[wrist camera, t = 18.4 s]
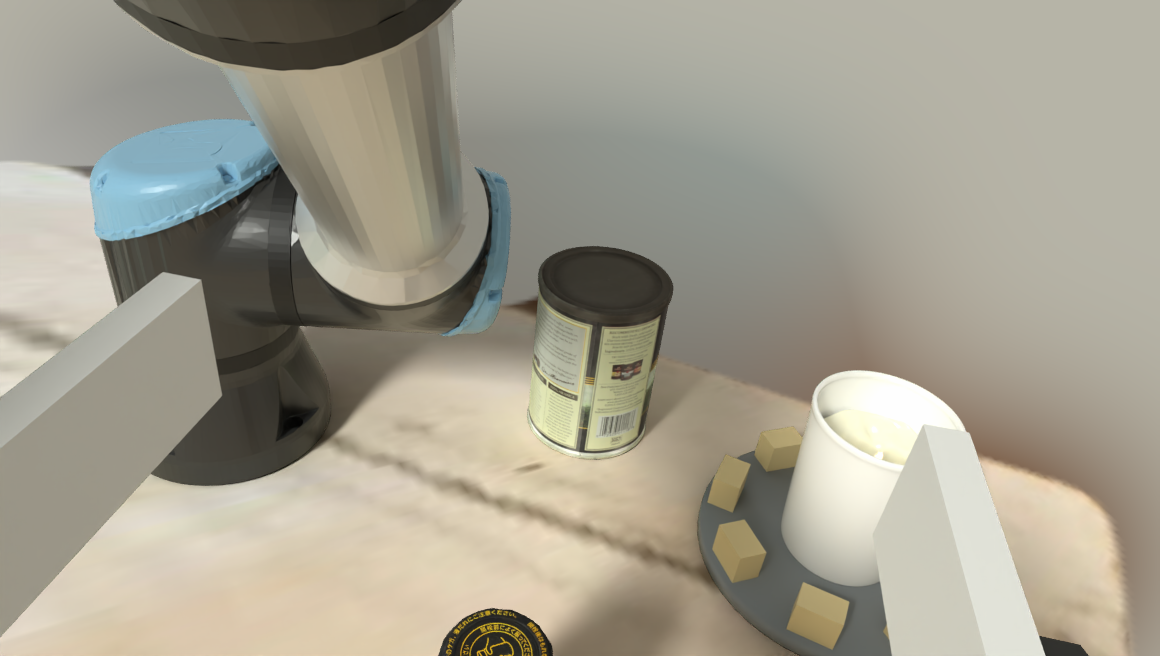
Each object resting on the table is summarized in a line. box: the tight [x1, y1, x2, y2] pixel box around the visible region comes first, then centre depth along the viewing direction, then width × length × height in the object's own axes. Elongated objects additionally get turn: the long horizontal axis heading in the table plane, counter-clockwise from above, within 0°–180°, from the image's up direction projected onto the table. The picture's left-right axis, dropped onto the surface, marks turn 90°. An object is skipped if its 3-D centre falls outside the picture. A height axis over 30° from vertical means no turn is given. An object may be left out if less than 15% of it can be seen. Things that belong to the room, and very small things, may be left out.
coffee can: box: [527, 246, 673, 460], centre depth 65 cm, size 10×10×14 cm
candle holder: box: [781, 370, 966, 587], centre depth 55 cm, size 10×10×12 cm
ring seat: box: [698, 427, 892, 656], centre depth 58 cm, size 20×20×4 cm
